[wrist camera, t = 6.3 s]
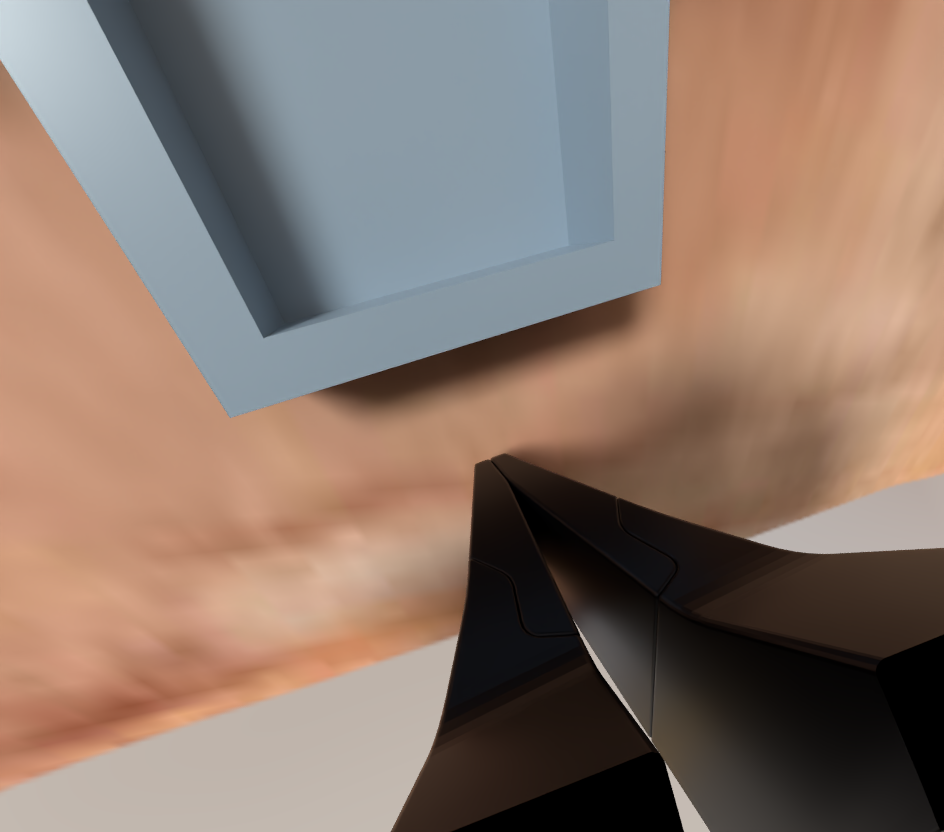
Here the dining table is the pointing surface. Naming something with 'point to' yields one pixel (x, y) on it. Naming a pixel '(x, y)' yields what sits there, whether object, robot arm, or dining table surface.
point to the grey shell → (357, 167)
